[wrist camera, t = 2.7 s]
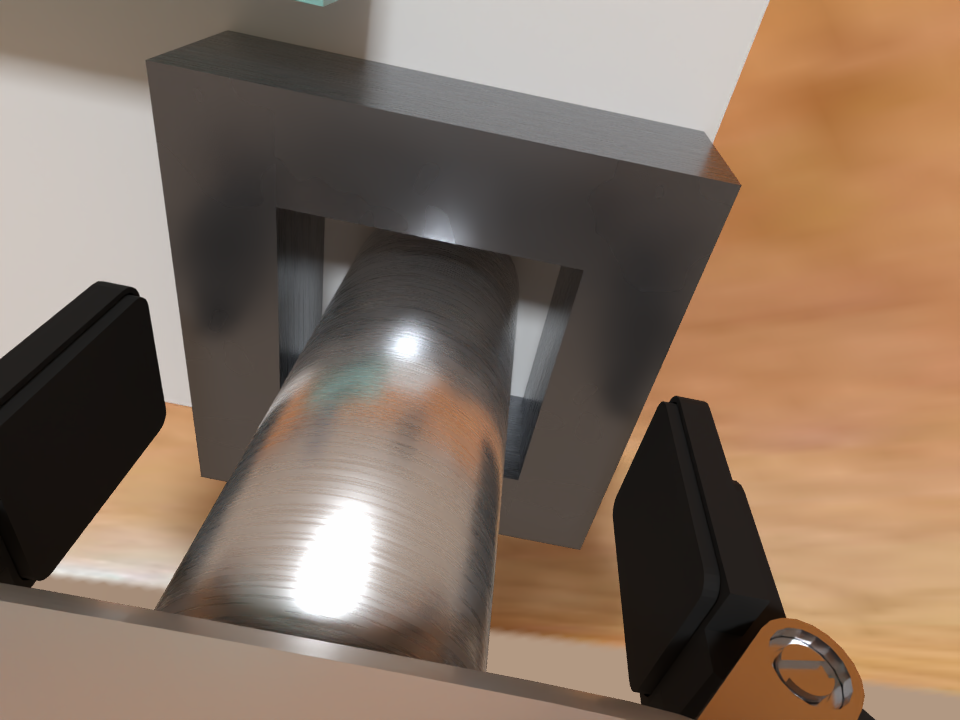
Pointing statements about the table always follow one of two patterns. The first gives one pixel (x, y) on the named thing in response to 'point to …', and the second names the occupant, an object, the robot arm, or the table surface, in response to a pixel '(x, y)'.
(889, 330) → the table surface
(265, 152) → the holder block
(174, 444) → the table surface
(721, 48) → the docking plate
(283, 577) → the silver metal cylinder
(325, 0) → the dock block
